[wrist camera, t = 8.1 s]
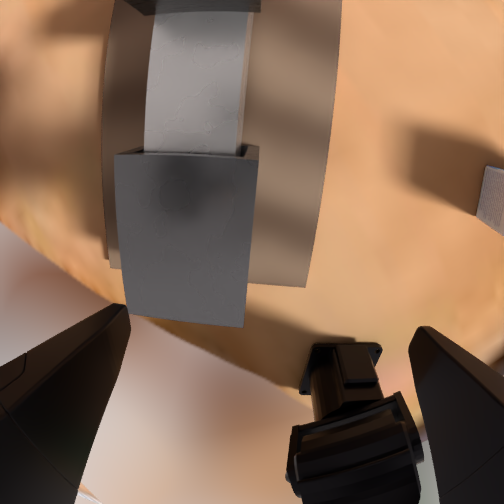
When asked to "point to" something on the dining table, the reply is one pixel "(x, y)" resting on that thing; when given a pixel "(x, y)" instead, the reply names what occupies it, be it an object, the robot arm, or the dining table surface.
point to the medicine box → (492, 199)
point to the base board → (247, 124)
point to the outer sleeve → (186, 233)
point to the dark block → (197, 74)
